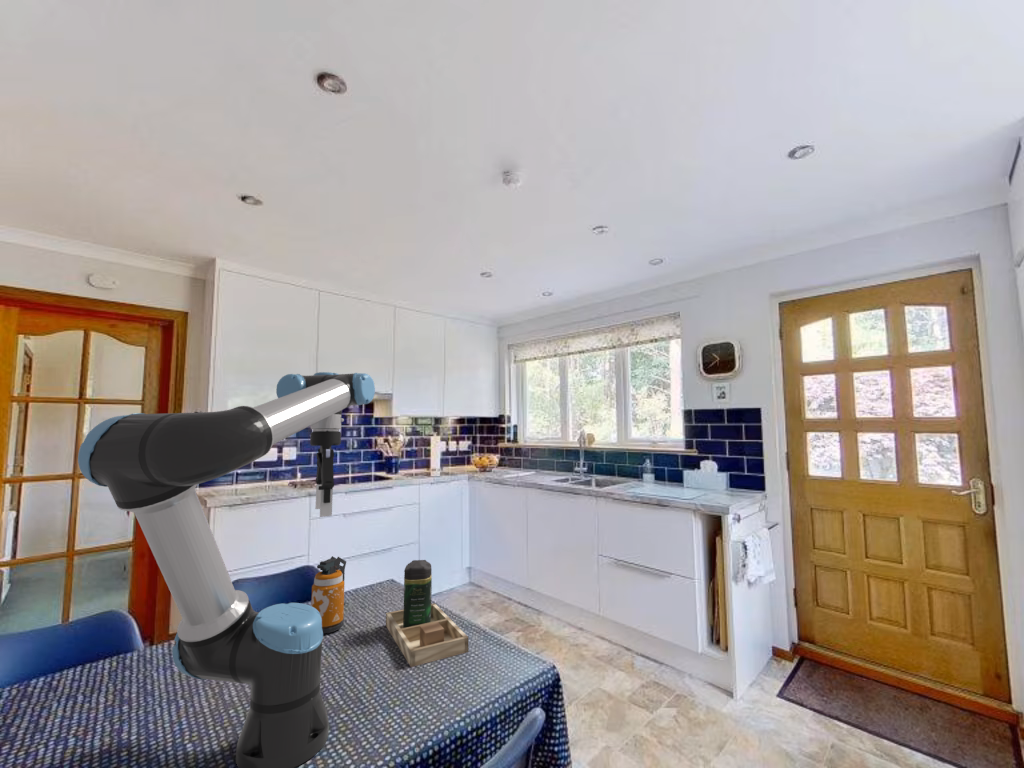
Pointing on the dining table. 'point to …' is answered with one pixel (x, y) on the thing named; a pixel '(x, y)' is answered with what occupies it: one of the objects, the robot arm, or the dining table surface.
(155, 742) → the dining table surface
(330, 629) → the canister
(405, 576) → the coffee jar
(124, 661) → the dining table surface
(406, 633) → the slot rack
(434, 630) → the walnut block
